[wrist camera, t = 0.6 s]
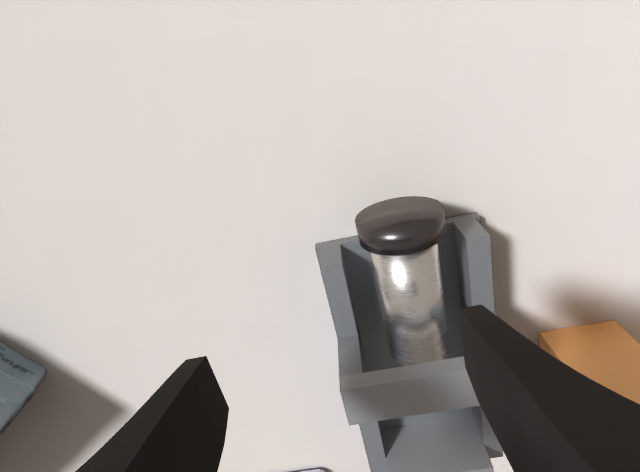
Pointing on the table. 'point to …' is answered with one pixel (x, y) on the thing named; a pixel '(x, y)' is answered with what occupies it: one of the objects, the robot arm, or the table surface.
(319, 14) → the table surface
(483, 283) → the housing
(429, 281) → the shaft
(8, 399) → the beverage carton
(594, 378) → the block
